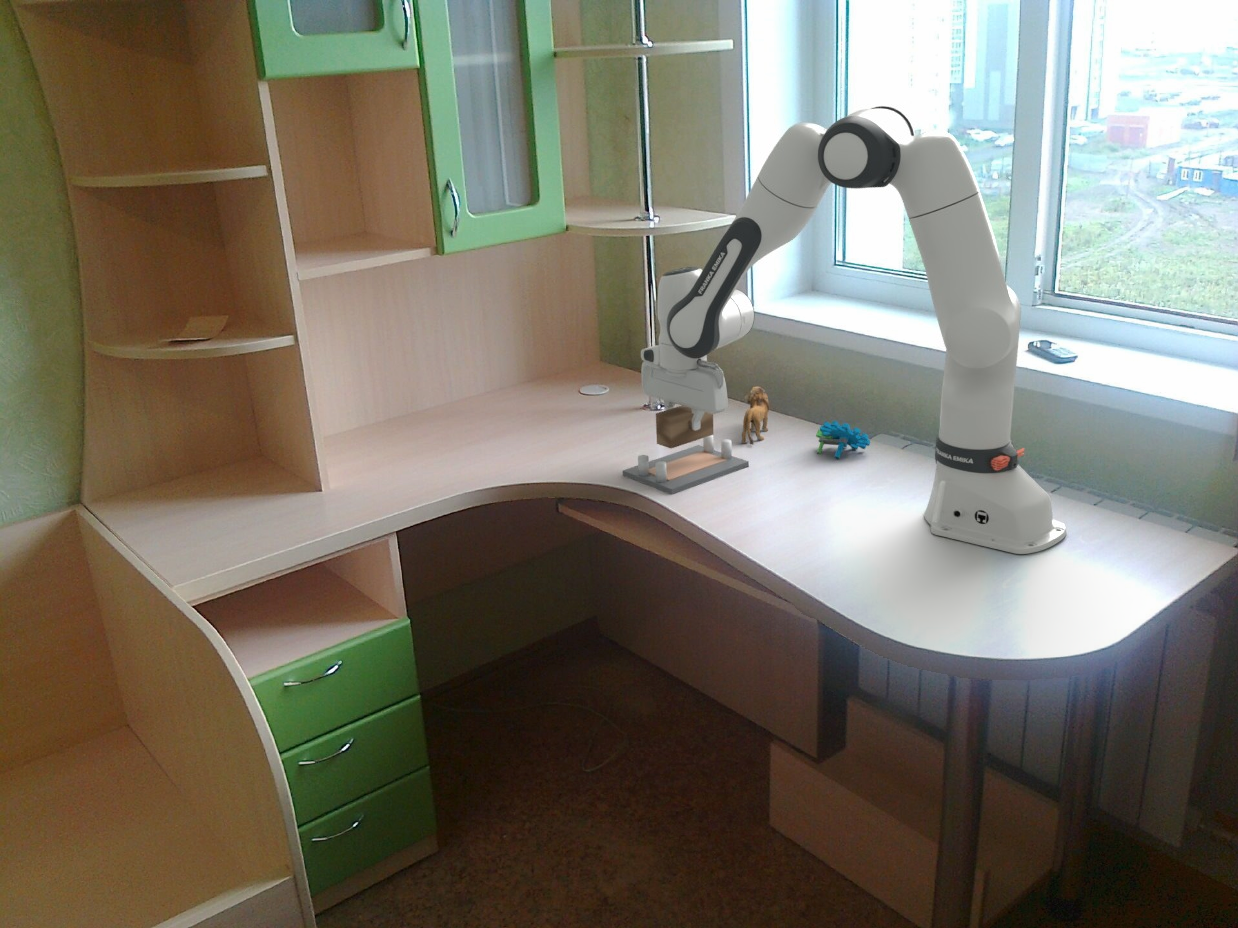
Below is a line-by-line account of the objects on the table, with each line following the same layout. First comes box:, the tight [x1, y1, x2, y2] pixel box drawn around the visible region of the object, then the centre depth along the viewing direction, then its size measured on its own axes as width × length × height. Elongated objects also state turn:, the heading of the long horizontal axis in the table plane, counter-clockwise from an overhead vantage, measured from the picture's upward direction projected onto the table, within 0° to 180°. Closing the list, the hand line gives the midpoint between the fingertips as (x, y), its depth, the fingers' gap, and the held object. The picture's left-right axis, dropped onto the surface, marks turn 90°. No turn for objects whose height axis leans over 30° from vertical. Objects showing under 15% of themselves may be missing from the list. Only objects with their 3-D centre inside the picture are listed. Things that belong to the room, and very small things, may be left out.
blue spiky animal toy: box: [815, 420, 871, 459], centre depth 214 cm, size 11×6×10 cm
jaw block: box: [655, 405, 714, 449], centre depth 207 cm, size 4×11×6 cm, turn 130°
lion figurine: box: [741, 386, 770, 446], centre depth 226 cm, size 15×5×9 cm, turn 170°
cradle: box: [622, 435, 750, 495], centre depth 209 cm, size 14×20×4 cm
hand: (684, 426), depth 207 cm, fingers closed on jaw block, 4 cm apart
